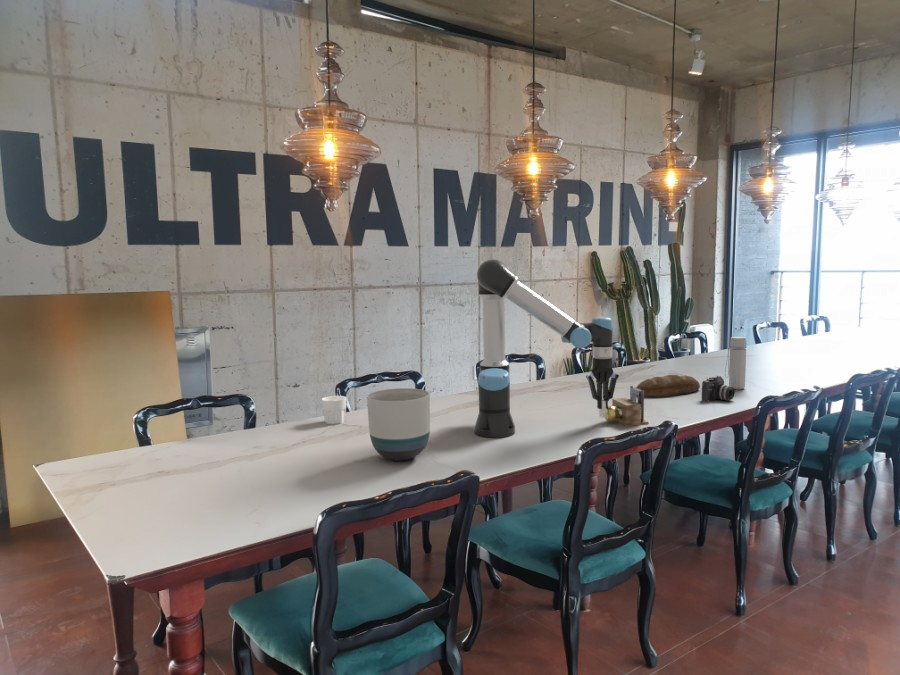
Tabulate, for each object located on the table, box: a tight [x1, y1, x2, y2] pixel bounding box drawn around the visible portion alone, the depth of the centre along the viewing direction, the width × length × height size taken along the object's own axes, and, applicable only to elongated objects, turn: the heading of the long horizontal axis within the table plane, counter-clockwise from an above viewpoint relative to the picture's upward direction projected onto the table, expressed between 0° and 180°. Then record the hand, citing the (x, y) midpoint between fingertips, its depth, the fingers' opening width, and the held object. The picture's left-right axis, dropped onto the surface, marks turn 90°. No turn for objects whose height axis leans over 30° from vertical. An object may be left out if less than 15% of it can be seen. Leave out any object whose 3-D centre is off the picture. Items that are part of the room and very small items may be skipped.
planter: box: [366, 387, 431, 462], centre depth 200 cm, size 20×20×21 cm
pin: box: [604, 405, 622, 422], centre depth 239 cm, size 12×6×6 cm, turn 101°
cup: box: [321, 395, 347, 425], centre depth 250 cm, size 10×10×10 cm
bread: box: [635, 374, 701, 398], centre depth 290 cm, size 16×36×8 cm, turn 114°
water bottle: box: [724, 336, 747, 390], centre depth 295 cm, size 9×8×25 cm
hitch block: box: [611, 385, 649, 426], centre depth 239 cm, size 9×12×13 cm
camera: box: [701, 375, 735, 403], centre depth 272 cm, size 14×11×10 cm
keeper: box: [631, 387, 641, 404], centre depth 239 cm, size 2×7×6 cm, turn 11°
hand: (602, 416), depth 237 cm, fingers closed
